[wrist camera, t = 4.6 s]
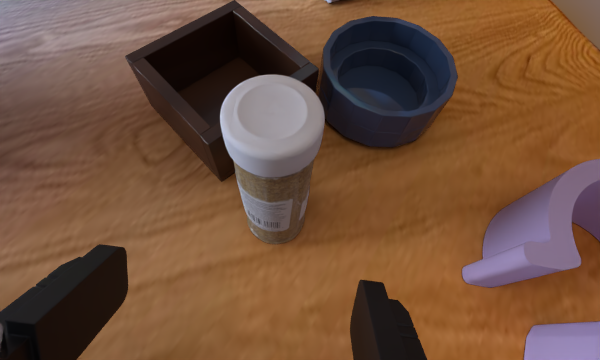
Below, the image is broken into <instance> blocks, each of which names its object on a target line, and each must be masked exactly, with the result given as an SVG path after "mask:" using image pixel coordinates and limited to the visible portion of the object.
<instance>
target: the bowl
mask: <svg viewBox="0 0 600 360" xmlns="http://www.w3.org/2000/svg"><path fill="white" fill-rule="evenodd" d="M457 78H458V75H457V71H456V67H455V63H454V59H453V56H452V55H451V54H450V52H449V51H448V50H447V48H446V47H445V46H444V45H443V43H442V42H441V41H440V40H439V39H438V38H437V37H435V36H434V35H432V34H431V33H429V32H428V31H426V30H425V29H423V28H422V27H421V26H419V25H416V24H413V23H410V22H407V21H404V20H401V19H398V18H391V17H377V16H371V17H366V18H361V19H357V20H352V21H349V22H348V23H346V24H345V25H343V26H342V27H340V28H338V29H337V30H335V31H334V32H333V33H332V35H331V36H330V38H329V40H328V41H327V43H326V45H325V46H324V48H323V54H322V60H321V67H320V73H319V80H318V98H319V100H320V102H321V104H322V106H323V109H324V115H325V118H326V120H327V122H328V123H330V124H331V125H332V126H333V127H334V128H335V129H336V130H338V131H339V132H340V133H341V134H342V135H343V136H345V137H347V138H350V139H352V140H355V141H357V142H360V143H362V144H365V145H367V146H377V147H396V146H399V145H402V144H406V143H409V142H412V141H415V140H416V139H417V138H418V137H420V136H421V135H422V134H423V133H424V132H425V131H426V130H427V129H428V128H429V127H430V126H431V125H432V123H433V122H434V120H435V119H436V117H437V116H438V115H439V113H440V112H441V111H442V109H443V108H444V106H445V105H446V103H447V102H448V101H449V99H450V98H451V96H452V95H453V91H454V88H455V85H456V81H457Z"/></svg>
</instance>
